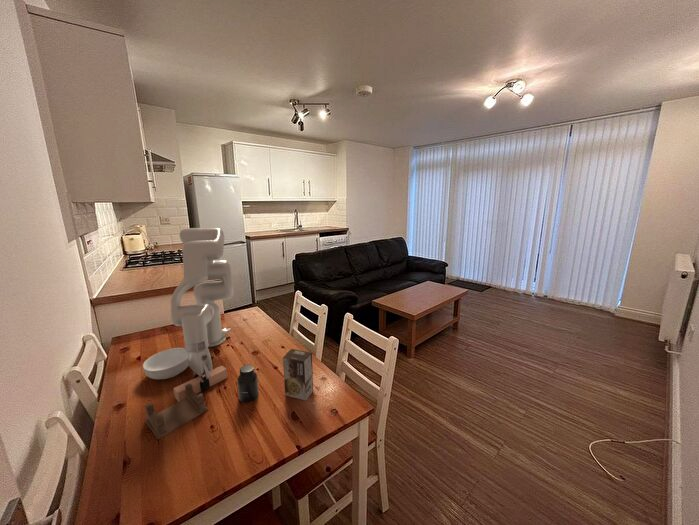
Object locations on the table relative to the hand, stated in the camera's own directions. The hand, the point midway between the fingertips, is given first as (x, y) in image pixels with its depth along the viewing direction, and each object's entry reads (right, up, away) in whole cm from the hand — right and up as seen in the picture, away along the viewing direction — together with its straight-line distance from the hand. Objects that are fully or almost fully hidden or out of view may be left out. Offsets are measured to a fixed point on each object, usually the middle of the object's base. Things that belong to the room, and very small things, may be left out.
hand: (202, 386), depth 106 cm
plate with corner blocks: (-1, -4, -14) cm, 14 cm away
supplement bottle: (+20, -2, -5) cm, 21 cm away
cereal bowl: (-18, +1, +9) cm, 20 cm away
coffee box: (+38, -2, -2) cm, 38 cm away
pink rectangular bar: (0, 0, 0) cm, 1 cm away
